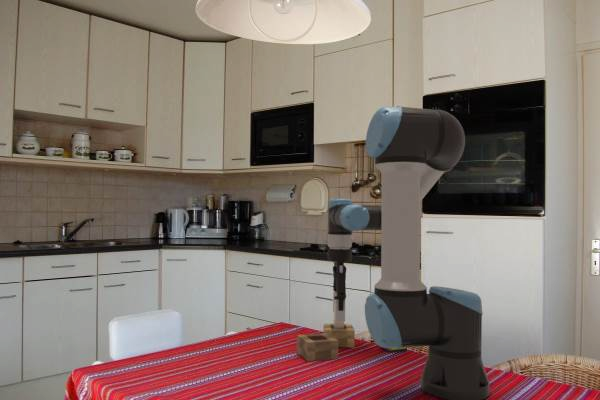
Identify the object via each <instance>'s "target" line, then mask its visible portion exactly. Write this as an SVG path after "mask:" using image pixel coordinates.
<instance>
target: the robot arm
mask: <svg viewBox="0 0 600 400" xmlns="http://www.w3.org/2000/svg"><path fill="white" fill-rule="evenodd" d="M465 135H466V134H465V131H464V128H463V126H462V124H461V123H460V121H459V120H458V119H457V118H456V117H455V116H454V115H452V114H451V113H449V112H448V111H445V110H442V109H437V108H436V109H434V108H433V109H430V108H419V107H418V108H417V107H407V106H399V105H397V106H382V107H380V108H378V110H376V111H375V112H374V114H373V116H372V118H371V120H370V122H369V124H368V127H367V131H366V136H365V150H366V154H367V155H368V156H369V157H371V158H372V159H374V167H375V168H376V169H377V171H378V172H380V174H381V204H380V205H379V204H378V205H377V204H373V205H372V204H357V203H356V204H354V203H353V201H352V199H349V198H331V199H329V201H328V208H327V215H328V216H327V221H328V222H327V226H328V227H327V247H328V249H327V260H328V261H330V262H333V266H332V272H333V273H332V275H333V276H332V277H333V285H332V291H333V293H332V295H333V297H332V298H333V300H332V301H333V302H332V308H333V309H332V310H333V311H332V313H334V299H336V321H343V322H344V323H345V322H346V299H347V294H346V293H347V290H346V289H347V288H346V284H347V283H346V280H347V279H346V277H347V274H346V273H347V267H346V265H345V262H351V261H352V259H353V258H352V257H353V253H352V252H353V251H352V249H351V248H352V247H353V246H352V245H353V243H352V242H353V241H354V240H355V239H354V238H355V237H352V236H353V232H358V231H381V240H380V241H381V242H380V243H381V246H380V247H381V249H380V250H381V252H380V255H381V256H380V257H381V258H380V259H381V260H380V261H381V264H380V265H381V267H380V268H381V269H380V276H381V277H380V279H379V280H378V281H377V283H375V284H374V292H373V293H372V294H369V295H368V296H367V297H366V299H365V303H364V317H365V321H366V327H367V330H368V332H369V334H370V336H371V339H372V340H373V342H374V343H375V344H376V345H377V346H379V347H380V346H381V347H384V348H397V349H399V348H401V347H407V348H413V347H414V348H415V347H418V348H419V347H428V356H427V358H426V361H425V364H424V367H423V371H422V372H421V375H420V376H421V377H420V388H421V389H422V391H424V392H425V393H427V394H429V395H430V396H434V397H436V398H440V399H444V400H484V399H487V398H488V397H489V396H490V381H489V379H488V375H487V372H486V369H485V366H484V362H483V360H482V359H483V358H482V346H483V345H482V343H483V342H482V341H483V340H482V338H483V337H482V333H483V332H482V331H483V330H482V328H483V325H482V323H483V315H484V313H483V306H482V298H481V297H480V295H478V294H477V293H474V292H472V291H467V290H463V289H459V288H451V287H445V286H438V285H437V286H435V285H433V286H430V287H429V290H428V288H427V286H426V285H425V284H424V282H422V280H421V201H422V200H423V199H424V198H425V196H426V195H427V194H428V193H429V192H430V190H431V189H432V188H433V187H434V186H435V184H436V183H437V182H438V180H440V178H441V177H442V176H443V174H444V173H446V172H449V171H451V170H452V169H453V168H454V167H455V166H456V165H457V164H458V162H459V161H460V159H461V157H462V156H463V153H464V151H465V147H466V136H465Z"/></svg>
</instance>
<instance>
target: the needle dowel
mask: <svg viewBox="0 0 600 400" xmlns="http://www.w3.org/2000/svg"><path fill="white" fill-rule="evenodd" d="M333 324H334V329H344V324H345V322H343V321H336V299H334V312H333Z"/></svg>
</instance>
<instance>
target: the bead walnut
mask: <svg viewBox="0 0 600 400" xmlns="http://www.w3.org/2000/svg"><path fill="white" fill-rule="evenodd" d="M296 353H297V355H299V356H300V357H302V358H303V359H304V360H306V361H307V362H316V361H327V360H328V361H329V360H337V359H339V347H338V340H337V339H335V338H333V337H332V336H330V335H328V334H327V333H323V332H322V333H309V334H296Z"/></svg>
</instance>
